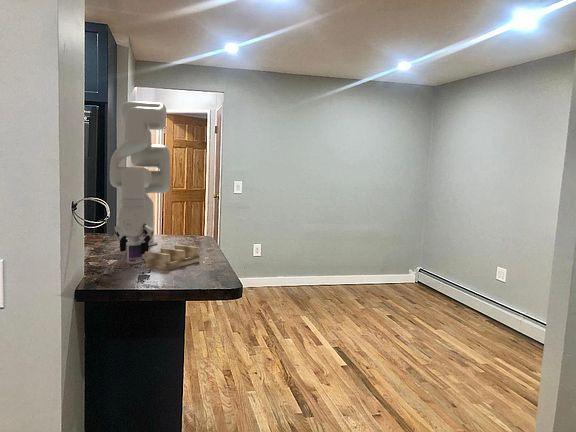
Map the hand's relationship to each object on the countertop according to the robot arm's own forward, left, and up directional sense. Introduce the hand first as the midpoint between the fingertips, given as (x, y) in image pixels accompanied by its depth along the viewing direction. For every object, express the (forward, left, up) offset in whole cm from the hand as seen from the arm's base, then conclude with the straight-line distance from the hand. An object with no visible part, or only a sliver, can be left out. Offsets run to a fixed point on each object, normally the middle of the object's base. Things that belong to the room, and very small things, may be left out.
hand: (134, 252), depth 163 cm
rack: (+13, +5, -4) cm, 14 cm away
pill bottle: (0, 0, -4) cm, 4 cm away
